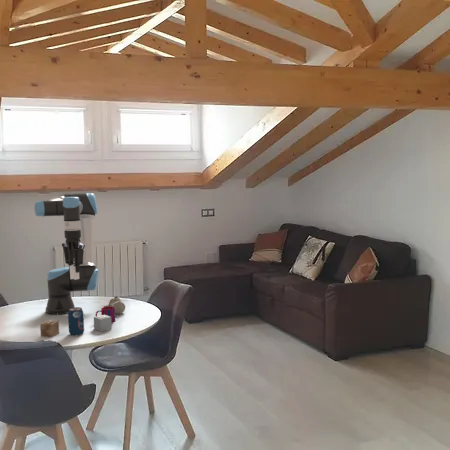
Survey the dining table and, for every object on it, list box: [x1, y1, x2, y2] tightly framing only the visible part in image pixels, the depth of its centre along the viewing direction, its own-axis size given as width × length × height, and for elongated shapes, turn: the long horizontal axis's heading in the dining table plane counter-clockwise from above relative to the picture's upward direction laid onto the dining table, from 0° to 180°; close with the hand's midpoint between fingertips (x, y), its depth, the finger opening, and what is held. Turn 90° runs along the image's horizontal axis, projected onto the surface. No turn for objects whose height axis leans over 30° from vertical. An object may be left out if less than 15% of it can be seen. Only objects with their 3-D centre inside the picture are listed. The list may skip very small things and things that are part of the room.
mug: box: [95, 306, 116, 324], centre depth 284 cm, size 7×10×7 cm
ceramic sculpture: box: [103, 296, 126, 315], centre depth 304 cm, size 11×9×15 cm
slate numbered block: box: [93, 314, 113, 333], centre depth 272 cm, size 6×6×6 cm
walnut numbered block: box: [39, 320, 60, 338], centre depth 264 cm, size 6×6×6 cm
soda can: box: [67, 306, 85, 337], centre depth 264 cm, size 7×7×12 cm
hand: (74, 278), depth 270 cm, fingers open, 2 cm apart
